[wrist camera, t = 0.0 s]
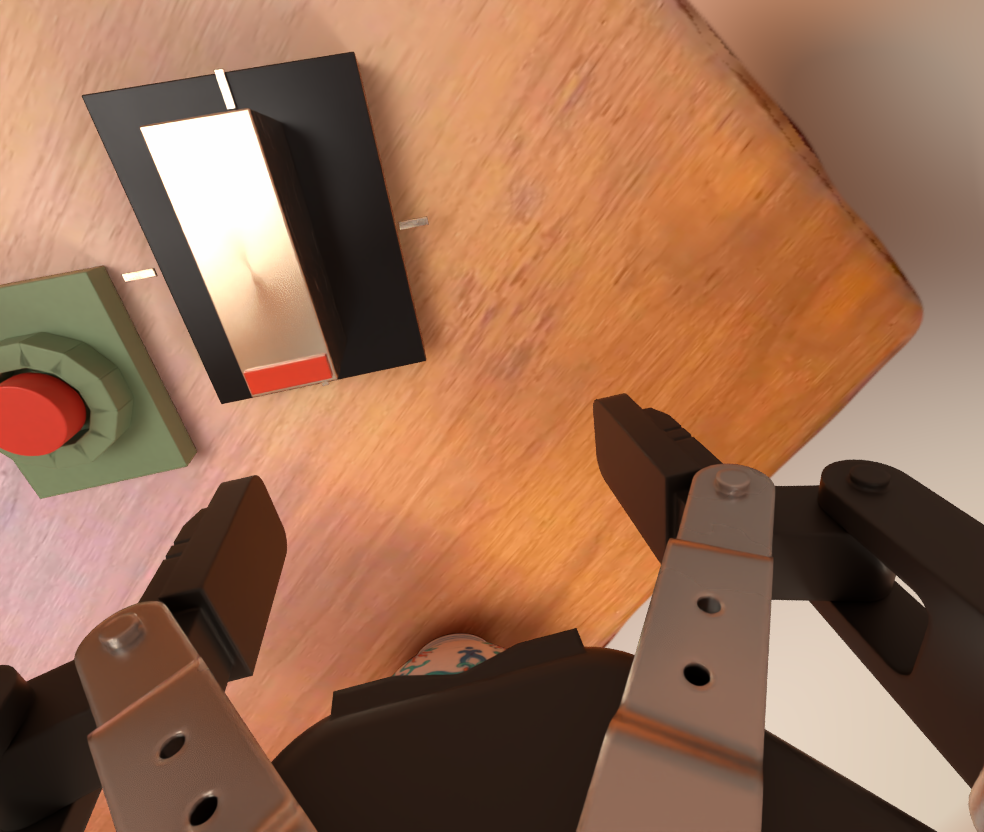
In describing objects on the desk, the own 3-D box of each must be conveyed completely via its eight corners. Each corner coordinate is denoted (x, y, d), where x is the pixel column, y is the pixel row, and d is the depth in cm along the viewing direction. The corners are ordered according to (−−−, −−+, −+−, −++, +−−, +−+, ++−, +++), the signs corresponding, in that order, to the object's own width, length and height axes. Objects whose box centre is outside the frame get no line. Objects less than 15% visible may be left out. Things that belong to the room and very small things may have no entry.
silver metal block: (195, 135, 22) (134, 125, 16) (281, 120, 22) (246, 106, 17) (278, 355, 26) (250, 400, 21) (348, 340, 26) (337, 381, 21)
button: (-18, 380, 24) (-47, 395, 22) (62, 364, 24) (39, 378, 22) (26, 446, 25) (3, 464, 24) (101, 430, 26) (82, 447, 24)
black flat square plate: (72, 105, 22) (34, 98, 20) (391, 53, 24) (391, 41, 21) (206, 394, 29) (189, 414, 27) (451, 342, 30) (456, 357, 28)
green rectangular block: (-67, 297, 25) (-134, 316, 22) (104, 265, 25) (63, 279, 22) (57, 482, 30) (18, 519, 27) (197, 451, 30) (175, 484, 27)
